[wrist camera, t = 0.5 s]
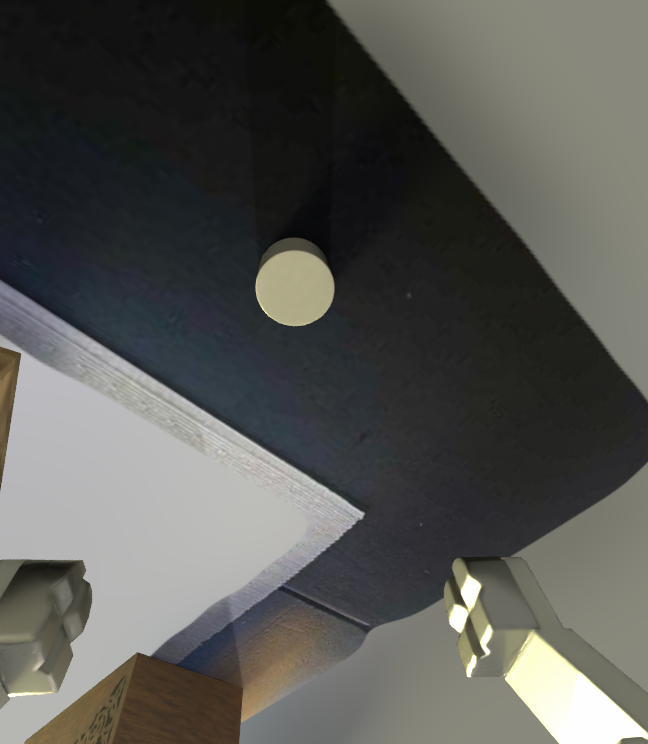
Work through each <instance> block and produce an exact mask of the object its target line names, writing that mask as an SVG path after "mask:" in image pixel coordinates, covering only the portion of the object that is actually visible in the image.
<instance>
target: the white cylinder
mask: <svg viewBox="0 0 648 744" xmlns="http://www.w3.org/2000/svg"><path fill="white" fill-rule="evenodd" d="M256 295H257V299H258V302H259V304H260V306H261V307H262V309H263V310H264V312H265V313H266V314H267V315H268V316H270V317H271V318H272V319H274V320H275V321H277V322H279V323H282V324H285V325H291V326H300V325H305V324H309V323H311V322H314V321H315V320H317V319H319V318H320V317H321V316H322V315H323V314H324V313H325V312H326V311H327V310H328V308H329V307H330V305H331V303H332V300H333V297H334V280H333V276H332V273H331V270H330V267H329V264H328V261H327V258H326V256H325V255H324V253H323V252H322V251H321V249H320V248H318V247H317V246H316V245H315V244H313V243H312V242H310V241H307V240H305V239H301V238H287V239H283V240H280V241H278V242H276V243H274V244H273V245H272V246H270V247H269V248H268V249H267V250H266V252H265V253H264V255H263V256H262V259H261V261H260V264H259V270H258V275H257V280H256Z"/></svg>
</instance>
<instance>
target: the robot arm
mask: <svg viewBox="0 0 648 744" xmlns="http://www.w3.org/2000/svg"><path fill="white" fill-rule="evenodd" d="M452 569H453V572H454V575H453V576H451V577H450V578H449V579H447V581H446V585H445V588H444V604H445V609H446V613H447V616H448V620H449V623H450V624H451V625H452V626H453V627H454V628H455V629H456V630H457V631H458V632H459V633H460V634H459V637H458V641H457V647H458V650H459V653H460V656H461V658H462V661H463V664H464V667H465V670H466V673H467V676H468V677H506V678H505V680H506V681H507V682H508V683H509V684H510V686H511V687H512V688H513V689H514V690H515V692H516V693H517V694H518V695H519V696H520V697H521V699H522V700H523V701H524V702H525V703H526V705H527V706H528V707H529V708H530V709H531V710H532V712H533V713H534V714H535V715H536V716H537V717H538V719H539V720H540V721H541V722H542V724H543V725H544V726H545V727H546V728H547V729H548V731H549V732H550V733H551V734H552V735H553V737H554V738H555V739H556V740H557V741H558V743H559V744H648V693H647V692H646V691H645V690H643V689H642V688H641V687H640V686H639V685H638V684H636V683H635V682H634V681H633V680H632V679H630V678H629V677H628V676H627V675H626V674H624V673H623V672H622V671H621V670H620V669H618V668H617V667H616V666H615V665H614V664H612V663H611V662H610V661H609V660H608V659H606V658H605V657H604V656H603V655H602V654H600V653H599V652H598V651H596V649H594V648H593V647H592V646H591V645H590V644H588V643H587V642H586V641H585V640H584V639H582V638H581V637H580V636H579V635H578V634H576V633H575V632H574V631H573V630H572V629H564V627H563V626H562V624H561V622H560V621H559V619H558V617H557V615H556V613H555V612H554V610H553V608H552V606H551V604H550V603H549V601H548V599H547V597H546V596H545V594H544V592H543V590H542V589H541V587H540V585H539V583H538V582H537V580H536V579H535V576H534V575H533V573H532V571H531V570H530V568H529V566H528V564H527V562H526V561H525V560H524V559H522V558H521V557H462V558H457V559H456V560H455V561H454V563H453V566H452ZM85 572H86V568H85V566H84V563H83V560H0V709H1V708H2V707H3V706H4V705H5V704H6V703H7V702H8V701H9V699H10V698H9V696H22V695H37V694H52V693H58V691H59V689H60V686H61V684H62V681H63V679H64V677H65V674H66V672H67V669H68V667H69V665H70V662H71V660H72V657H73V653H72V649H71V646H70V643H71V642H73V641H74V640H75V639H76V638H77V637H78V636H79V635H80V634H81V633H82V632H83V630H84V628H85V625H86V623H87V620H88V617H89V613H90V608H91V604H92V589H91V586H90V583H88V582H87V581H85V580H84V579H83V576H84V574H85Z"/></svg>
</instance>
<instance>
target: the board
mask: <svg viewBox="0 0 648 744" xmlns="http://www.w3.org/2000/svg"><path fill="white" fill-rule="evenodd" d="M20 358H21V353H18V352H15V351H12V350H9V349H5V348H2V347H0V489H1V482H2V476H3V469H4V463H5V456H6V450H7V443H8V436H9V430H10V423H11V416H12V410H13V404H14V397H15V390H16V384H17V376H18V371H19V364H20Z"/></svg>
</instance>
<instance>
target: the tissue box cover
mask: <svg viewBox="0 0 648 744" xmlns="http://www.w3.org/2000/svg"><path fill="white" fill-rule="evenodd" d="M242 697H243V688H240V687H237V686H234V685H231V684H228V683H225V682H222V681H219V680H216V679H214V678H211V677H208V676H205V675H202V674H199V673H196V672H193V671H190V670H187V669H185V668H182V667H179V666H176V665H173V664H170V663H167V662H164V661H161V660H158V659H155V658H153V657H150V656H147V655H144V654H141V653H138V652H137V653H136V654H135V655H134V656H132V657H131V658H130V659H128V660H127V661H126V662H125V663H124V664H122V665H121V666H120V667H118V668H117V669H116V670H115V671H113V672H112V673H111V674H110V675H108V676H107V677H106V678H105V679H103V680H102V681H101V682H99V683H98V684H97V685H96V686H94V687H93V688H92V689H91V690H89V691H88V692H87V693H86V694H84V695H83V696H82V697H81V698H79V699H78V700H77V701H75V702H74V703H73V704H72V705H70V706H69V707H68V708H67V709H65V710H64V711H63V712H61V713H60V714H59V715H58V716H56V717H55V718H54V719H53V720H51V721H50V722H49V723H48V724H46V725H45V726H44V727H43V728H41V729H40V730H39V731H38V732H36V733H35V734H34V735H32V736H31V737H30V738H29V739H27V740H26V741H25V743H24V744H239V736H240V723H241V710H242Z"/></svg>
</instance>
